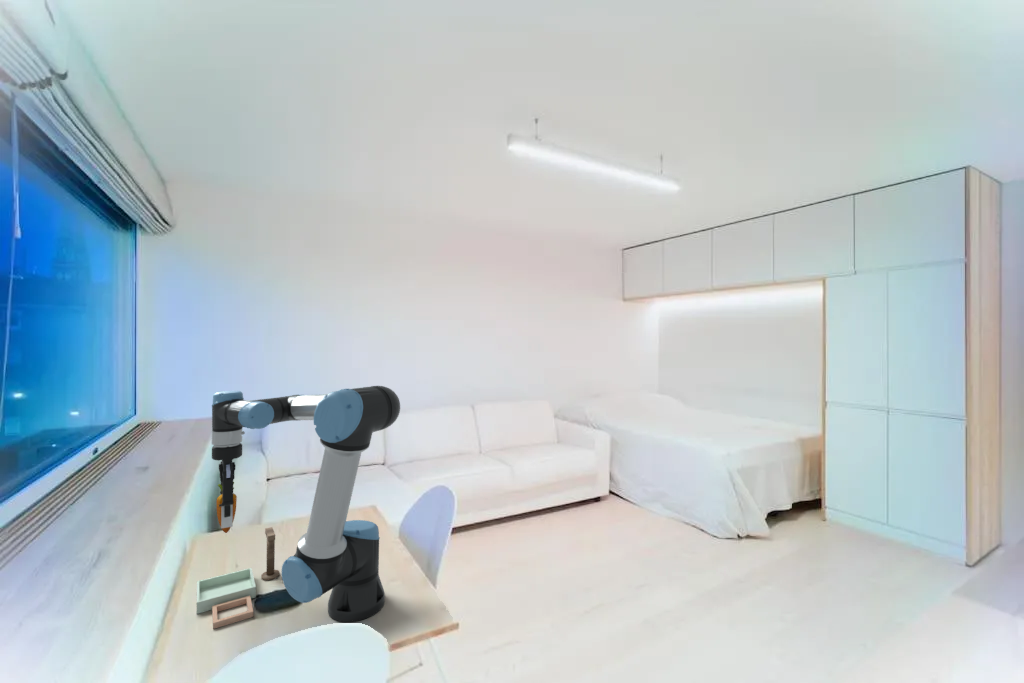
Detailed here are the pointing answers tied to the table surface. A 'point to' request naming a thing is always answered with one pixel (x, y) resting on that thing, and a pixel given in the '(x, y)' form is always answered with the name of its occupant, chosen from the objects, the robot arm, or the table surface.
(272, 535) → the t stake
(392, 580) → the table surface
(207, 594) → the tray
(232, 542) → the table surface
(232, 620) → the holder ring
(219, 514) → the carrot
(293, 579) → the robot arm
